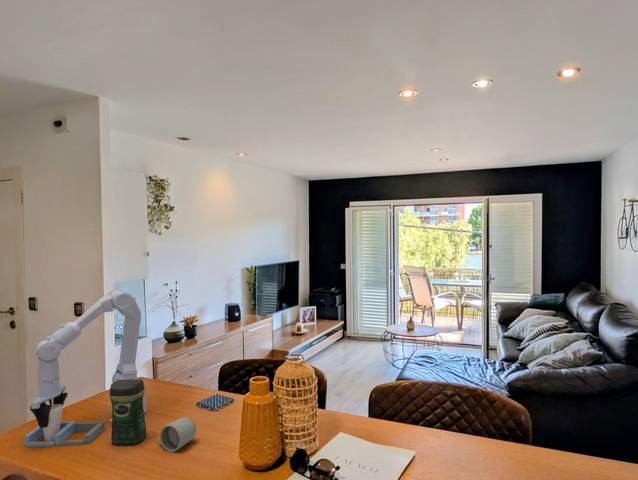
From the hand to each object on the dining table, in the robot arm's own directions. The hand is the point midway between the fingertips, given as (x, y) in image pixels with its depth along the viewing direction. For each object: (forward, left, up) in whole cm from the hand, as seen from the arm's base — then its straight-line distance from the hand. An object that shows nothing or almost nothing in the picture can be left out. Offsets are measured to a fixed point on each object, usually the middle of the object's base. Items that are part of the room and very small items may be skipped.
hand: (50, 422), depth 133 cm
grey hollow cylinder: (-41, +7, -5) cm, 42 cm away
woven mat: (-47, -22, -6) cm, 52 cm away
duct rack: (-5, 0, -5) cm, 7 cm away
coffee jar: (-26, +3, -5) cm, 26 cm away
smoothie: (-1, 0, -5) cm, 5 cm away
